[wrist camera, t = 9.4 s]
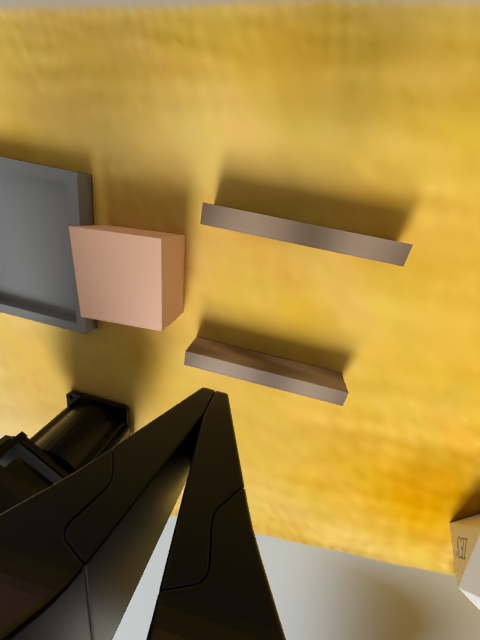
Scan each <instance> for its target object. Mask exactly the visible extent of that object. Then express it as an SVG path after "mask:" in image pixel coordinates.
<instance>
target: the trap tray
mask: <svg viewBox="0 0 480 640" xmlns="http://www.w3.org/2000/svg"><path fill="white" fill-rule="evenodd" d="M93 225H94V223H93V197H92V175H88V174H83V173H79V172H74V171H69V170H64V169H59V168H54V167H49V166H44V165H39V164H34V163H29V162H24V161H19V160H14V159H9V158H4V157H0V312H3V313H6V314H10V315H14V316H18V317H22V318H26V319H30V320H33V321H37V322H41V323H45V324H49V325H53V326H57V327H61V328H64V329H68V330H72V331H76V332H80V333H84V334H87V333H89V332H91V331H93V330H94V329H96V328H98V327H97V320H96V319H90V318H85V317H81V313H80V306H79V298H78V291H77V284H76V276H75V269H74V262H73V255H72V247H71V240H70V233H69V226H93Z"/></svg>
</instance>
